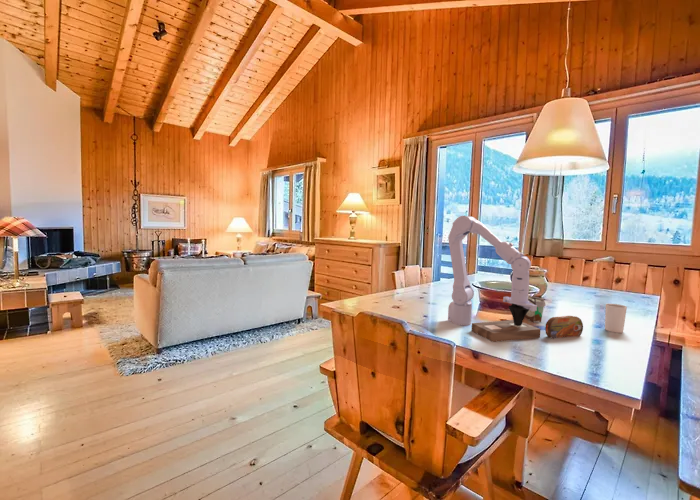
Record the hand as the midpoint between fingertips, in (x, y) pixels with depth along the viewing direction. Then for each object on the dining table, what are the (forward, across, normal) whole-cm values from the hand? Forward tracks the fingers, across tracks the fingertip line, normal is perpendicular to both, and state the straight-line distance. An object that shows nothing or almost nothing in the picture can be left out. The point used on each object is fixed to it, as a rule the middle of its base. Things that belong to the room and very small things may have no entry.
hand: (517, 325), depth 129 cm
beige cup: (+4, -4, -43) cm, 43 cm away
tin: (+4, -7, -14) cm, 16 cm away
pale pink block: (+3, 0, +11) cm, 11 cm away
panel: (+4, 0, +6) cm, 7 cm away
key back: (+3, 0, 0) cm, 3 cm away
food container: (+4, +13, -21) cm, 25 cm away
